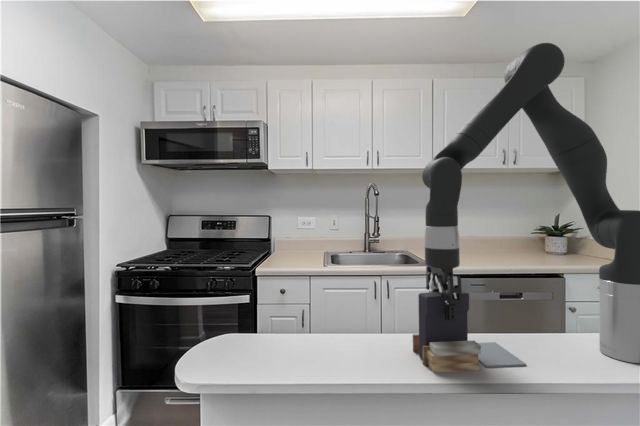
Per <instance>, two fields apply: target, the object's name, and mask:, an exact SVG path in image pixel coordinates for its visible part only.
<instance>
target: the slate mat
mask: <svg viewBox="0 0 640 426" xmlns="http://www.w3.org/2000/svg"><path fill="white" fill-rule="evenodd" d="M477 343H478V344H479V345H481V354H478V362H479V363H480V364H481V365H483V366H484V367H485V368H507V367H509V368H510V367H511V368H513V367H527V363H526V362H524V361H523V360H521V359H520V358H518V357H517V356H516V355H514V354H513V353H511V352H510V351H508V350H507V349H505V348H504V347H503V346H502V345H500V344H499V343H497V342H496V341H494V342H493V341H492V342H491V341H490V342H489V341H488V342H477Z"/></svg>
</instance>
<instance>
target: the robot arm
mask: <svg viewBox="0 0 640 426" xmlns="http://www.w3.org/2000/svg"><path fill="white" fill-rule="evenodd" d="M565 61H566V60H565V56H564V52H563V51H562V49H561V48H560V47H559V46H558V45H556V44H554V43H553V42H552V43H551V42H541V43H537V44H535V45H532V46H531V47H529V48H527V49H526V50H524V51H523V52H522V53H521V54H519V55H518V56H517V57H515V58H514V59H513V60H512V61H511V62H510V63H509V64H508V65H507V67H506V68H505V70H504V82H505V84H504V85H503V86H502V88H500V89H499V90H498V91H497V93H496V94H495V95H493V97H492V98H491V99H489V100H488V101H487V102H486V103H485V104H484V105H483V106H482V107H480V109H478V111H476V112H475V113H474V114H473V115H472V116H471V117H470V118H469V119H468V120H467V121H466V122H465V124H463V126H462V127H461V128H460V129H459V130H458V132H456V134H455V135H454V136H453V137H452V139H451V140H450V141H449V142H448V143H447V144H446V146H444V147H443V148H442V149H441V150H440V151H439V152H438V153H437V154H436V155H435V156H434V157H433V158H431V160H430V161H429V162H428V163H427V164H426V165H425V167H424V168H423V170H422V177H421V179H422V182H423V184H424V185H425V187H426V188H428V189H429V200H428V202H427V203H426V207H425V231H424V265H425V266H426V267H425V271H426V273H425V289H426V290H427V291H428V292H439V291H440V294H441V295H442V296H443V298H444V301H445V320H446V321H447V322H455V321H456V305H458V304H462V294H461V291H462V276H460V275H455V274H454V271H453V270H454V269H457V268H458V267H460V262H461V261H460V233H459V226H458V225H459V218H458V217H459V214H458V213H459V211H458V206H459V205H458V204H459V201H460V197H461V196H460V195H461V189H462V183H463V174H462V169H464V168H465V167H466V166H467V165H468V164H470V163H471V162H473V161H474V160H476V159H477V158H478V157H479V156H480V155H481V154H482V153H483V151H484V150H485V149H486V148H487V147H488V146H489V145H490V143H491V142H492V141H493V140H494V139H495V137H497V136H498V134H499V133H500V132H501V131H502V130H503V129H504V127H505V126H506V125H507V124H508V123H509V122H510V121H511V120H512V119H513V118H514V117H515V115H517V113H519V111H520V110H523V111H524V113H525V114H526V116H527V117H528V118H529V120H530V121H531V124H532V125H533V127H534V129H535V131H536V133H538V135H539V137H540V139H541V141H542V143H544V145H545V148H546V149H547V152H548V153H549V155H550V156H551V159H552V160H553V162H554V165H555V166H556V167H557V169H558V171H559V173H560V174H561V176H562V177H563V179H564V181H565V183H566V184H567V187H568V188H569V190H570V191H571V194H572V196H573V197H574V199H575V201H576V203H577V206H578V207H579V210H580V213H581V215H582V217H583V219H584V222H585V224H586V226H587V229H588V231H589V234H590V235H591V237H592V239H593V240H594V241H595V242H596V243H597V244H598V245H600V246H602V247H604V248H607V249H609V250H610V249H611V250H614V258H613V260H612V261H611V262H610V263H606V264H602V265H601V266H600V267H599V269H598V270H599V271H598V272H599V273H598V275H599V276H598V288H599V289H598V290H599V291H598V292H599V293H598V297H599V299H598V301H599V304H598V305H599V307H598V308H599V311H598V312H599V313H598V314H599V321H598V322H599V323H598V324H599V326H598V327H599V330H598V331H599V336H598V337H599V351H600V353H602V354H604V355H606V356H608V357H610V358H611V359H615V360H618V361H622V362H627V363H633V364H640V210H638V209H637V210H635V209H633V210H632V209H625V210H624V209H620V208H619V207H618V206H617V204H616V203H615V201H614V200H613V198H612V196H611V194H610V193H609V190H608V188H607V173H608V156H607V153H606V150H605V149H604V146H603V145H602V143H601V141H600V140H599V138H598V136H597V135H596V132H595V131H594V130H593V128H592V127H591V126H590V125H589V124H588V123H586V122H585V121H584V120H583V119H581V118H580V117H578V116H577V115H576V114H574V113H572V112H571V111H569V110H568V109H566V108H565V107H563V105H561V103H560V102H559V101H558V100H557V98H556V97H555V95H554V94H553V92H552V90H551V88H550V87H549V85H551V84H553V82H554V81H555V80H557V79H558V77H559V76H560V75H561V73H562V72H563V70H564V66H565ZM456 293H457V297H456ZM447 295H448V296H447Z"/></svg>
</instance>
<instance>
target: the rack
mask: <svg viewBox="0 0 640 426" xmlns="http://www.w3.org/2000/svg"><path fill="white" fill-rule="evenodd" d="M428 350H430V346H423V359H422V365H423V366H428V359H427V351H428ZM412 352H413V353H419V333H418V334H417V333H415V334H412Z"/></svg>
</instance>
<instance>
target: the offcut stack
mask: <svg viewBox="0 0 640 426" xmlns="http://www.w3.org/2000/svg"><path fill="white" fill-rule="evenodd" d="M478 343H479V342H476V341H475V340H468V341H449V342H430V350H428V351H427V359H428V365H427V366H428V367H429V369H430V370H431V371H432V373H447V372H449V373H451V372H472V371H473V372H474V371H480V364H481V363H480V362H479V361H478V354H481V345H479V344H478Z"/></svg>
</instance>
